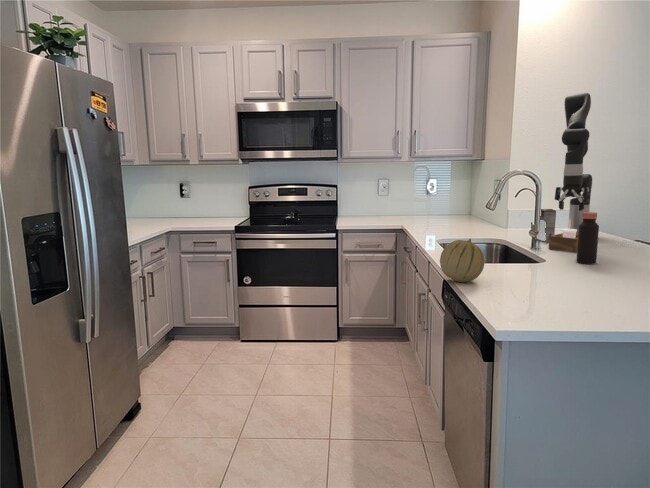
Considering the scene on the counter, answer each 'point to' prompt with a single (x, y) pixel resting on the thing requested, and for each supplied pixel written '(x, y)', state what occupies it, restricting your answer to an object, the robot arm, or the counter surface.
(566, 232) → the beverage cup
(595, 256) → the bottle
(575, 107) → the robot arm
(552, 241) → the wooden square frame
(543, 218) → the coffee box
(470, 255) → the cantaloupe
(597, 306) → the counter surface
